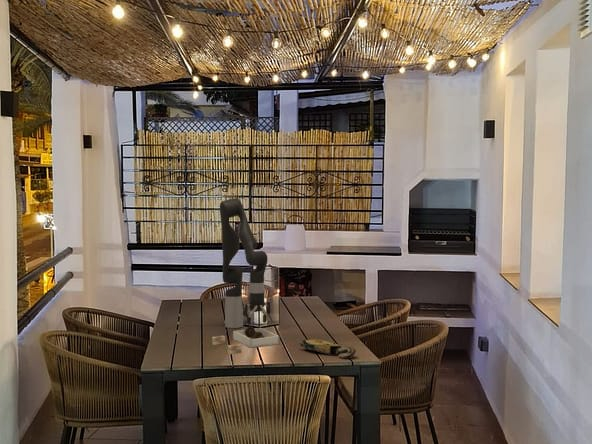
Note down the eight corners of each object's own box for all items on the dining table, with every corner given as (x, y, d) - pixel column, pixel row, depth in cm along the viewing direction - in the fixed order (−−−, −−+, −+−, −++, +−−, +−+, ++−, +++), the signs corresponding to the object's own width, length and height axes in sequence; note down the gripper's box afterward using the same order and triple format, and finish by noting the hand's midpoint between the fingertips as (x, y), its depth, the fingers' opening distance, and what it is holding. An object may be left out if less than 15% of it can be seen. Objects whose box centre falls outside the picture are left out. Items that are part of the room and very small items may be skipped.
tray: (260, 335, 315) (260, 327, 314) (279, 344, 297) (279, 336, 297) (232, 338, 307) (232, 331, 307) (250, 348, 289) (250, 339, 289)
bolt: (260, 346, 296) (247, 338, 309) (268, 340, 298) (255, 333, 311) (255, 337, 294) (242, 329, 307) (263, 331, 296) (250, 324, 309)
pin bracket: (223, 342, 299) (223, 335, 299) (241, 352, 281) (241, 345, 281) (212, 344, 296) (212, 336, 296) (229, 354, 278) (229, 346, 278)
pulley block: (343, 347, 266) (296, 336, 288) (342, 361, 266) (294, 348, 287) (364, 347, 276) (316, 336, 297) (362, 360, 275) (315, 347, 297)
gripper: (266, 288, 308) (265, 320, 309) (240, 291, 300) (240, 323, 301) (273, 291, 301) (273, 323, 302) (247, 293, 294) (247, 326, 295)
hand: (256, 323), depth 302 cm, fingers open, 8 cm apart
